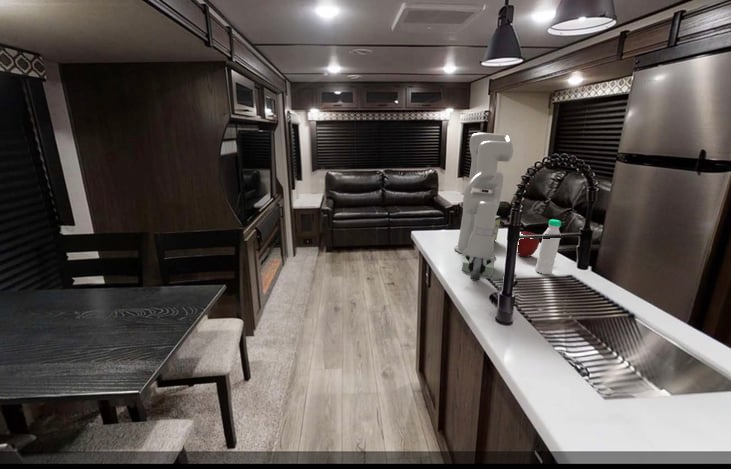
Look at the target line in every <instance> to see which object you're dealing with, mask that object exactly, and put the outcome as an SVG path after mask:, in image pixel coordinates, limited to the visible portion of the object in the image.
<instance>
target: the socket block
mask: <svg viewBox="0 0 731 469" xmlns="http://www.w3.org/2000/svg"><path fill="white" fill-rule="evenodd" d="M470 257H471V256H470ZM473 258H474V257H473ZM491 259H492V257H491ZM487 260H489V259H487ZM495 262H496V261H494V262H491V263H489V264H488V265H486V267H485V272H483V274H481V275H483V276H486V275H489V276H488V277H491V276H492V277H493V272H494V267H495ZM468 267H469V261H468V260H467V259H466V257H464V259H463V261H462V267H461V271H463V272H468V273H470V272H469V271H470V269H468Z"/></svg>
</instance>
